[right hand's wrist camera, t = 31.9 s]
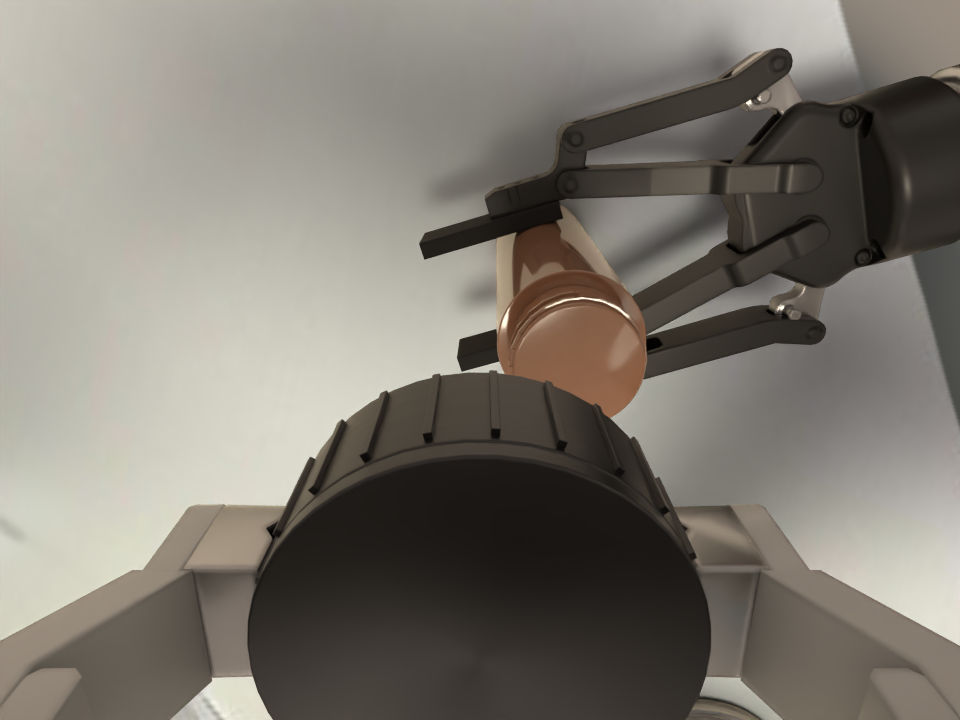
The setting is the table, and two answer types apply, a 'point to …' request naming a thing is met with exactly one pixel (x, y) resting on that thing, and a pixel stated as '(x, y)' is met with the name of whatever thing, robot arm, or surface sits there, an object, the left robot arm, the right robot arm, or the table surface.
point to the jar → (568, 315)
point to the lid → (479, 567)
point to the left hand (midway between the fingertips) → (444, 301)
